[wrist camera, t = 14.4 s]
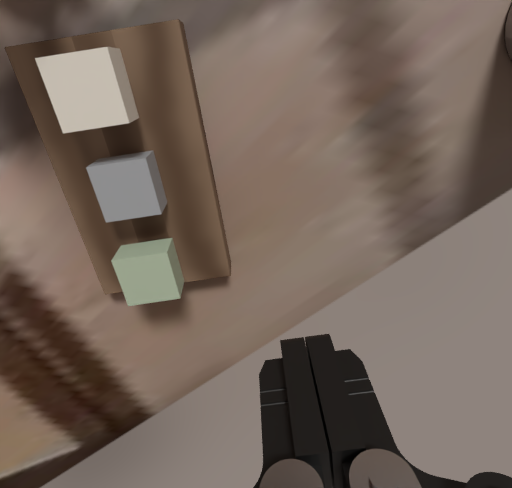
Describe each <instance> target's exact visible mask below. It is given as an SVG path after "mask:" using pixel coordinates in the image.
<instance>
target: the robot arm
mask: <svg viewBox="0 0 512 488" xmlns="http://www.w3.org/2000/svg"><path fill="white" fill-rule="evenodd" d="M505 42H506V49H507V51H508V54H509V56H510V58H511V60H512V5H511V8H510V10H509V13H508V17H507V21H506V26H505ZM280 342H281V350H282V358H281V359H280V358H279V359H272V360H266V361H265V362H264V365H263V367H262V369H261V372H260V374H259V380H260V402H261V422H262V443H263V468H262V472H261V475H260V478H259V480H258V482H257V483H256V485H255V486H254V487H253V488H512V478H511V477H509V476H506V475H503V474H500V473H495V472H483V473H479V474H476V475H474V476H473V477H472V478H470V480H469V481H468V482H467V483H463V482H459V481H454V480H450V479H446V478H441V477H436V476H433V475H430V474H427V473H425V472H423V471H421V470H419V469H417V468H416V467H415V466H413V465H412V464H410V463H409V462H408V461H407V460H406V459H405V458H404V457H403V455H402V454H401V453H400V451H399V450H398V449H397V446H396V444H395V442H394V440H393V437H392V435H391V432H390V430H389V427H388V425H387V422H386V420H385V417H384V415H383V412H382V410H381V407H380V405H379V402H378V400H377V397H376V395H375V393H374V390H373V387H372V385H371V382H370V380H369V378H368V375H367V372H366V370H365V367H364V365H363V362H362V361H361V360H360V359H359V358H358V357H357V356H356V355H355V354H354V353H353V352H352V351H351V350H350V349H348V350H341V351H335V350H334V346H333V343H332V340H331V337H330V335H329V334H324V335H317V336H309V337H305V341H304V338H303V337H302V338H295V339H287V340H281V341H280ZM305 342H306V346H305Z"/></svg>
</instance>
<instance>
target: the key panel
mask: <svg viewBox="0 0 512 488" xmlns="http://www.w3.org/2000/svg"><path fill="white" fill-rule="evenodd" d="M102 47H112V48H119V49H120V51H121V54H122V58H123V61H124V65H125V69H126V72H127V76H128V79H129V83H130V87H131V90H132V94H133V98H134V101H135V105H136V108H137V112H138V116H139V118H138V119H136V120H134V121H133V122H131V123H127V124H121V125H115V126H108V127H102V128H95V129H89V130H83V131H76V132H70V133H63V132H62V129H61V126H60V124H59V121H58V119H57V116H56V113H55V111H54V108H53V105H52V103H51V100H50V97H49V95H48V92H47V89H46V87H45V84H44V81H43V79H42V76H41V73H40V71H39V68H38V66H37V63H36V60H35V58H39V57H46V56H52V55H58V54H65V53H71V52H77V51H83V50H90V49H96V48H102ZM5 50H6V52H7V55H8V57H9V60H10V62H11V65H12V67H13V70H14V72H15V74H16V77H17V79H18V82H19V84H20V87H21V89H22V92H23V94H24V97H25V99H26V101H27V104H28V106H29V109H30V111H31V114H32V116H33V119H34V121H35V124H36V126H37V129H38V131H39V133H40V136H41V138H42V141H43V143H44V146H45V148H46V151H47V153H48V156H49V158H50V160H51V163H52V165H53V168H54V170H55V173H56V175H57V178H58V180H59V183H60V185H61V187H62V190H63V192H64V195H65V197H66V200H67V202H68V205H69V207H70V210H71V212H72V215H73V217H74V219H75V222H76V224H77V227H78V229H79V232H80V234H81V237H82V239H83V242H84V244H85V246H86V249H87V251H88V254H89V256H90V259H91V261H92V264H93V266H94V269H95V271H96V273H97V276H98V278H99V281H100V283H101V286H102V288H103V291H104V293H105V294H111V293H117V292H123V291H122V288H121V285H120V283H119V280H118V277H117V275H116V272H115V270H114V267H113V264H112V262H111V260H112V259H113V257H114V256H115V254H116V253H117V251H118V249H119V248H120V246H121V245H127V244H134V243H141V242H147V241H149V240H156V239H162V238H173V242H174V246H175V249H176V253H177V256H178V260H179V264H180V267H181V271H182V274H183V278H184V283H185V282H191V281H198V280H205V279H212V278H218V277H225V276H231V260H230V255H229V250H228V245H227V240H226V235H225V230H224V225H223V220H222V215H221V210H220V205H219V200H218V195H217V190H216V185H215V180H214V175H213V170H212V165H211V160H210V155H209V150H208V145H207V140H206V135H205V130H204V125H203V120H202V115H201V110H200V105H199V100H198V95H197V90H196V85H195V80H194V75H193V70H192V65H191V60H190V55H189V50H188V45H187V40H186V35H185V30H184V25H183V23H182V22H181V21H180V20H179V19H177V20H171V21H165V22H159V23H153V24H146V25H140V26H134V27H128V28H121V29H115V30H109V31H103V32H97V33H90V34H84V35H78V36H72V37H65V38H59V39H53V40H47V41H40V42H34V43H28V44H22V45H16V46H9V47H5ZM146 151H154V155H155V159H156V162H157V166H158V170H159V174H160V177H161V181H162V185H163V188H164V192H165V196H166V199H167V204H166V206H165V208H164V210H163V212H162V214H159V215H153V216H146V217H140V218H133V219H127V220H120V221H113V222H107V223H106V221H105V218H104V216H103V213H102V210H101V207H100V205H99V202H98V199H97V196H96V194H95V191H94V188H93V185H92V183H91V180H90V177H89V174H88V172H87V169H86V167H87V166H89V165H90V164H92V163H93V162H95V161H96V160H98V159H101V158H107V157H114V156H120V155H127V154H133V153H140V152H146Z"/></svg>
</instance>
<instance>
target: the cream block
mask: <svg viewBox="0 0 512 488" xmlns="http://www.w3.org/2000/svg"><path fill="white" fill-rule="evenodd" d="M35 60H36V63H37V66H38V68H39V71H40V73H41V76H42V79H43V81H44V84H45V87H46V89H47V92H48V95H49V97H50V100H51V103H52V105H53V108H54V111H55V113H56V116H57V119H58V121H59V124H60V126H61V129H62V132H63V133H70V132H76V131H83V130H89V129H95V128H102V127H108V126H115V125H121V124H127V123H131V122H133V121H134V120H136V119H138V118H139V116H138V112H137V108H136V105H135V101H134V98H133V94H132V90H131V87H130V83H129V79H128V76H127V72H126V69H125V65H124V61H123V58H122V54H121V51H120V49H119V48H112V47H102V48H96V49H90V50H83V51H77V52H71V53H65V54H58V55H52V56H46V57H39V58H35Z"/></svg>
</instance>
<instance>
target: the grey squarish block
mask: <svg viewBox="0 0 512 488" xmlns="http://www.w3.org/2000/svg"><path fill="white" fill-rule="evenodd" d="M86 169H87V172H88V174H89V177H90V180H91V183H92V185H93V188H94V191H95V194H96V196H97V199H98V202H99V205H100V207H101V210H102V213H103V216H104V218H105V221H106V223H107V222H113V221H120V220H127V219H133V218H140V217H146V216H153V215H159V214H162V212H163V210H164V208H165V206H166V204H167V199H166V196H165V192H164V188H163V185H162V181H161V177H160V174H159V170H158V166H157V162H156V159H155V155H154V151H146V152H140V153H133V154H127V155H120V156H114V157H107V158H101V159H98V160H96V161H95V162H93V163H92V164H90V165H89V166H87V167H86Z"/></svg>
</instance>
